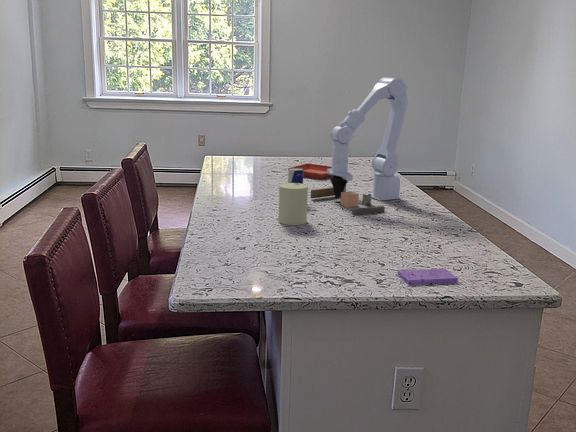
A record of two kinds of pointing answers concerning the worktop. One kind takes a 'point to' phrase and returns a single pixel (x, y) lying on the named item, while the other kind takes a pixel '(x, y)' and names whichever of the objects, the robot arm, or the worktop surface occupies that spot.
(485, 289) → the worktop surface
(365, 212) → the kerb
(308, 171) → the plant saucer
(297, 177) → the energy drink
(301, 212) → the can
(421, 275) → the sponges
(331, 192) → the brown long flat bar
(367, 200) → the frame
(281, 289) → the worktop surface
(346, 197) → the block
